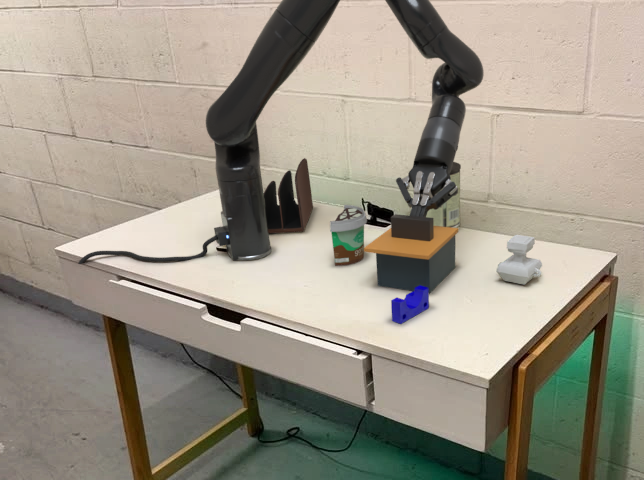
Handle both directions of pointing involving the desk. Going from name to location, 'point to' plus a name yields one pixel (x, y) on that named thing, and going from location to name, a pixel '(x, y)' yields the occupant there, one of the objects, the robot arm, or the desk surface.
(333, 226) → the food container
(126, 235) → the desk surface
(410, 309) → the cable holder
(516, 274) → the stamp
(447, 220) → the coffee can
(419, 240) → the lid
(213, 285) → the desk surface
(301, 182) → the letter holder
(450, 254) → the bin
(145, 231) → the desk surface
